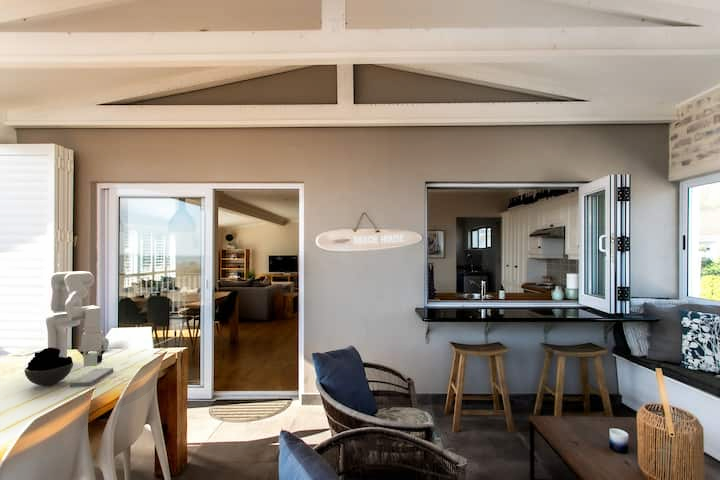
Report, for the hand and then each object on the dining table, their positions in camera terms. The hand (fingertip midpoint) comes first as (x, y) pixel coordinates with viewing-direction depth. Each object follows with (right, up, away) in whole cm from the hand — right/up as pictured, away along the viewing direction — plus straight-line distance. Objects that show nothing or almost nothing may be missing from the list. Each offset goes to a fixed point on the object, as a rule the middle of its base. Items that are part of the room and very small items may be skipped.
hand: (92, 362), depth 212 cm
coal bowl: (-17, -9, -9) cm, 21 cm away
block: (0, -1, 0) cm, 1 cm away
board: (0, -9, 0) cm, 9 cm away
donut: (-35, -11, +59) cm, 69 cm away
